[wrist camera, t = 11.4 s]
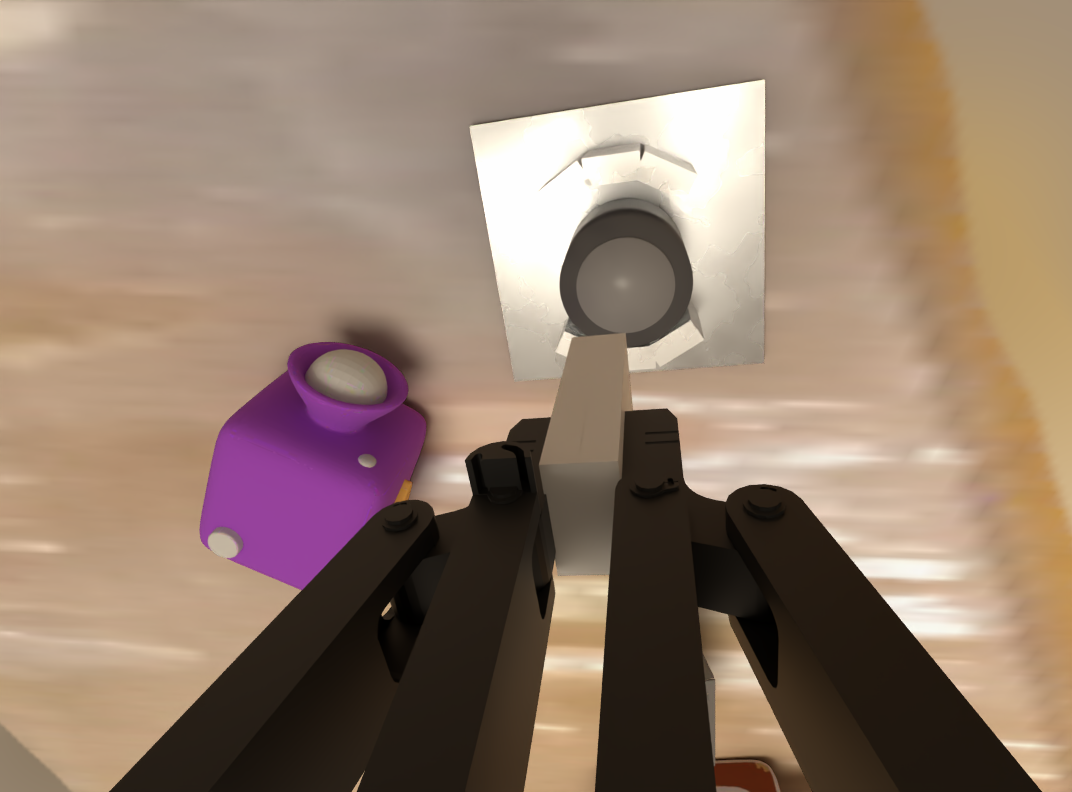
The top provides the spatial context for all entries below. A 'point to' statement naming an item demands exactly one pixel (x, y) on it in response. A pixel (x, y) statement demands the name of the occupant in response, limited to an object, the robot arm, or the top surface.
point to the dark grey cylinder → (626, 272)
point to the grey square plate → (632, 173)
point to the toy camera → (310, 462)
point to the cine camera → (744, 776)
